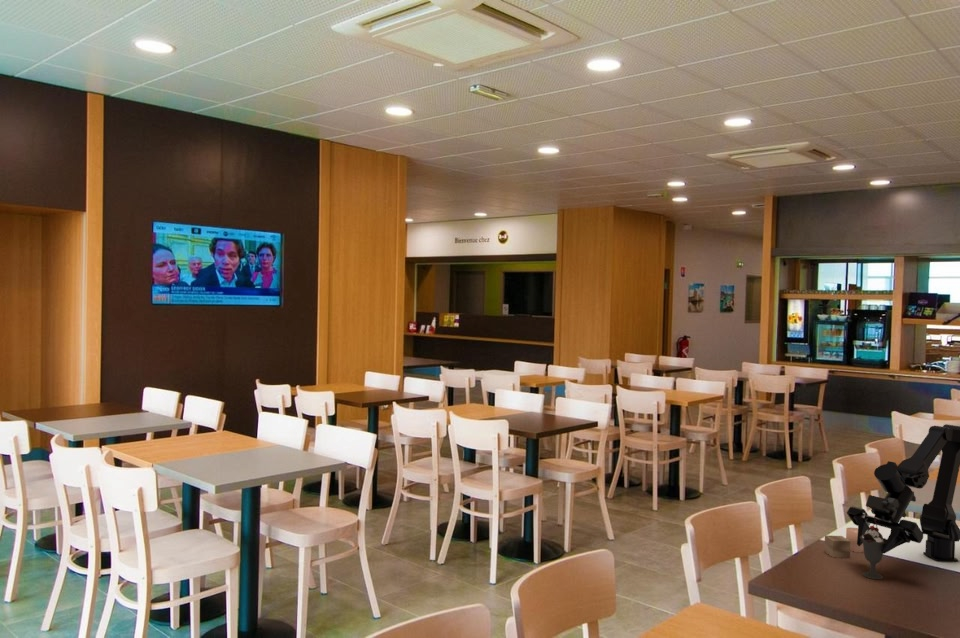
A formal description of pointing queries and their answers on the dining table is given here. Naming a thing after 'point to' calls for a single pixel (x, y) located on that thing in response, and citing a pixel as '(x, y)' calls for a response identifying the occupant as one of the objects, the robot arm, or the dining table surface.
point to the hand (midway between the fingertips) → (870, 548)
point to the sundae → (873, 550)
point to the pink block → (853, 540)
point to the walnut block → (837, 546)
